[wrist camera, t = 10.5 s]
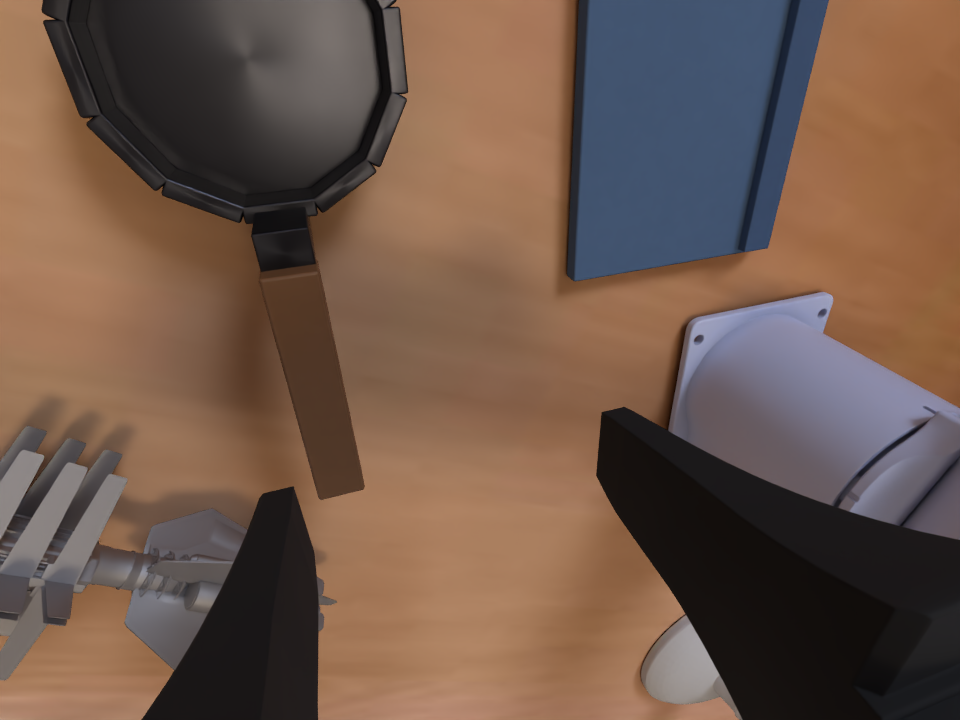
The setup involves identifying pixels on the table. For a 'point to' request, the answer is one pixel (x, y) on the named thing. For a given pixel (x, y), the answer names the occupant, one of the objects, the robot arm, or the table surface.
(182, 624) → the spaceship
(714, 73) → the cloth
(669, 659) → the candlestick
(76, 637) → the table surface
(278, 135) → the pan
